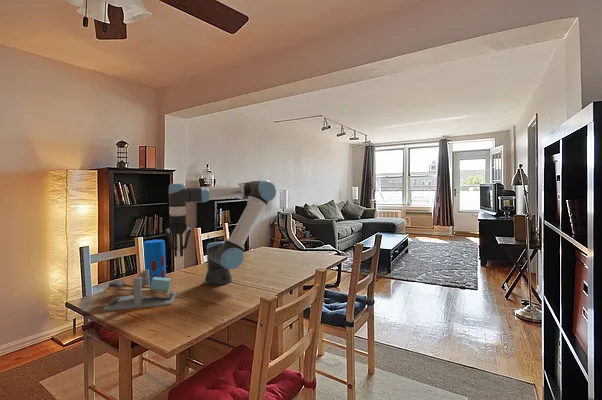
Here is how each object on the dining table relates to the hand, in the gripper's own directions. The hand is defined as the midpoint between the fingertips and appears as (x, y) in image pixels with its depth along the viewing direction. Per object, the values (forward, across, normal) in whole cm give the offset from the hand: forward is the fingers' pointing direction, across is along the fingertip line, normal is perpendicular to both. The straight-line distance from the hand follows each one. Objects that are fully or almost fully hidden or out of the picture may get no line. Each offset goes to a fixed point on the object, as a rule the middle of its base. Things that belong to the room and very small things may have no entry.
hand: (179, 263), depth 158 cm
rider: (+13, +9, 0) cm, 16 cm away
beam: (+13, +19, 0) cm, 23 cm away
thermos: (+18, +17, -27) cm, 37 cm away
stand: (+18, +17, 0) cm, 25 cm away
